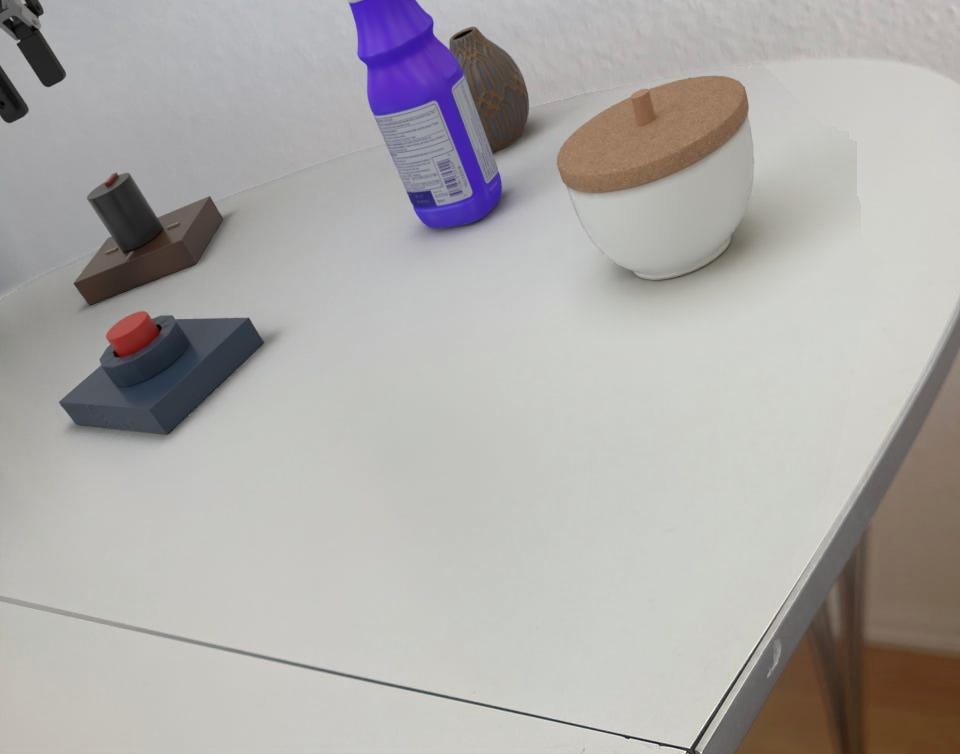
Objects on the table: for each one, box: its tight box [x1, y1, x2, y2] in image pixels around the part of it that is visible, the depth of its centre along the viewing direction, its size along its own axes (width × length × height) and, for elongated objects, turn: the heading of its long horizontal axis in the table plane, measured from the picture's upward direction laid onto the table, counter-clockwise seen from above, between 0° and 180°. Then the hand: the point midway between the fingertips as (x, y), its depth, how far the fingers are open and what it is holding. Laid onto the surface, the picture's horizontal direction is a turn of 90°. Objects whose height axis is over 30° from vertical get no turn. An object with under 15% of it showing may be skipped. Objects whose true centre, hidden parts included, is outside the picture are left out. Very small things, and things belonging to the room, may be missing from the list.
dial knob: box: [86, 171, 163, 252], centre depth 97 cm, size 5×5×6 cm
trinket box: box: [556, 75, 755, 281], centre depth 57 cm, size 11×11×9 cm
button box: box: [58, 314, 265, 435], centre depth 76 cm, size 13×11×4 cm
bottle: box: [347, 0, 503, 229], centre depth 72 cm, size 7×6×17 cm
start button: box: [105, 310, 160, 357], centre depth 74 cm, size 4×4×2 cm
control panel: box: [73, 195, 224, 306], centre depth 100 cm, size 13×10×3 cm
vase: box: [448, 26, 530, 152], centre depth 83 cm, size 7×7×9 cm
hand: (38, 100), depth 82 cm, fingers open, 8 cm apart
